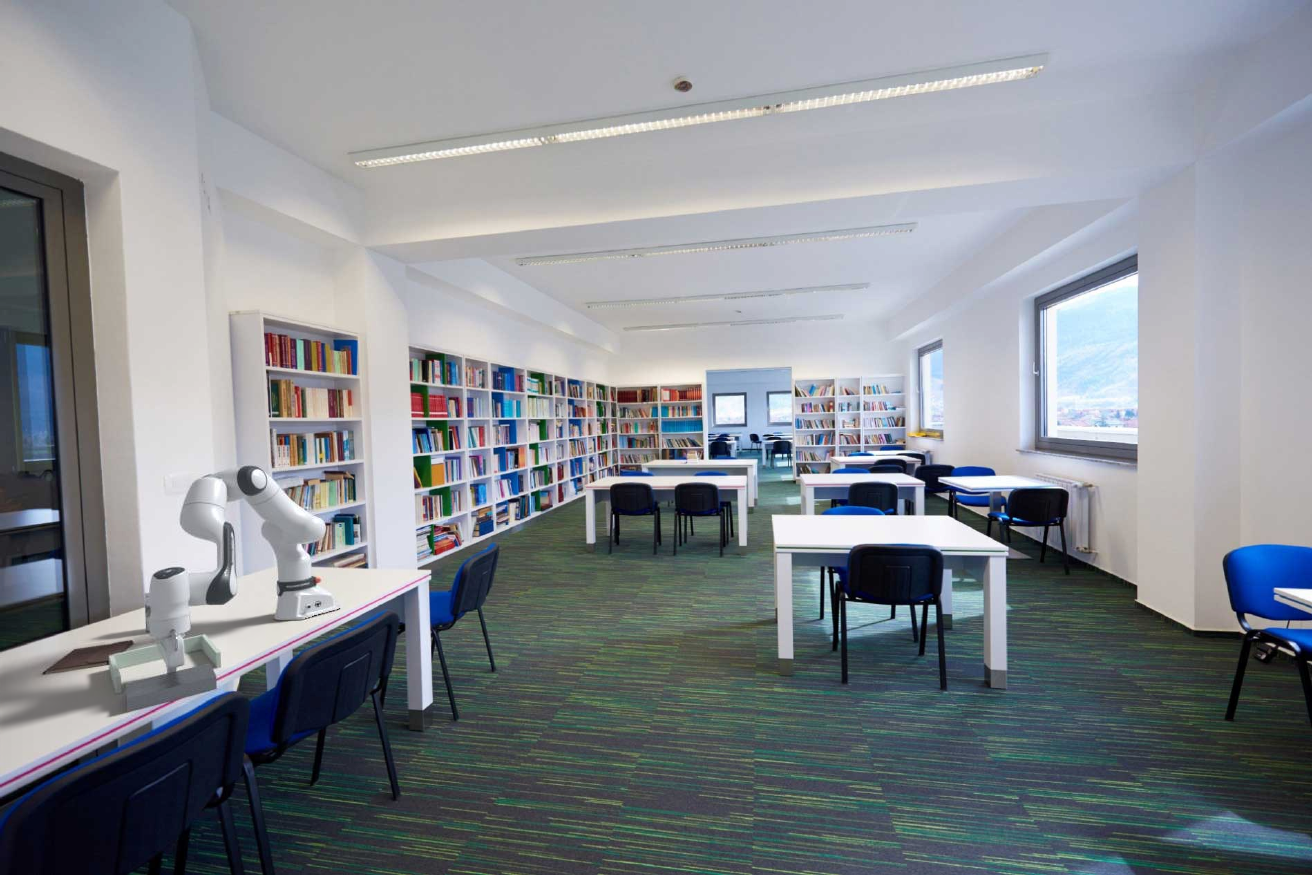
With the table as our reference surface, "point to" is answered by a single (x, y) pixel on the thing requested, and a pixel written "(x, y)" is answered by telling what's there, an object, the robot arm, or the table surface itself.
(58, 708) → the table surface
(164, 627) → the robot arm
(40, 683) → the table surface
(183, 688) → the cover plate
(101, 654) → the notebook
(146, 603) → the syrup box
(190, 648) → the sage box
